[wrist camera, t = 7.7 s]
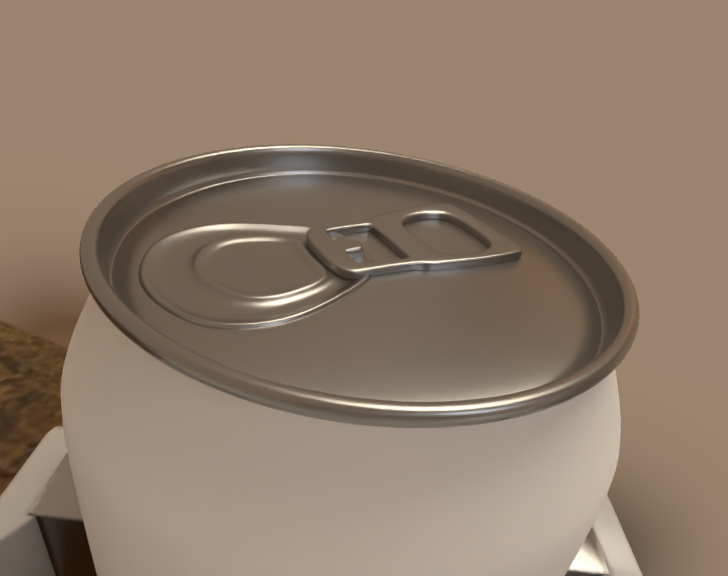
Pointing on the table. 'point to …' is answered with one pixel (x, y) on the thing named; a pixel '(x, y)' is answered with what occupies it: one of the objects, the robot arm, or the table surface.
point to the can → (341, 370)
